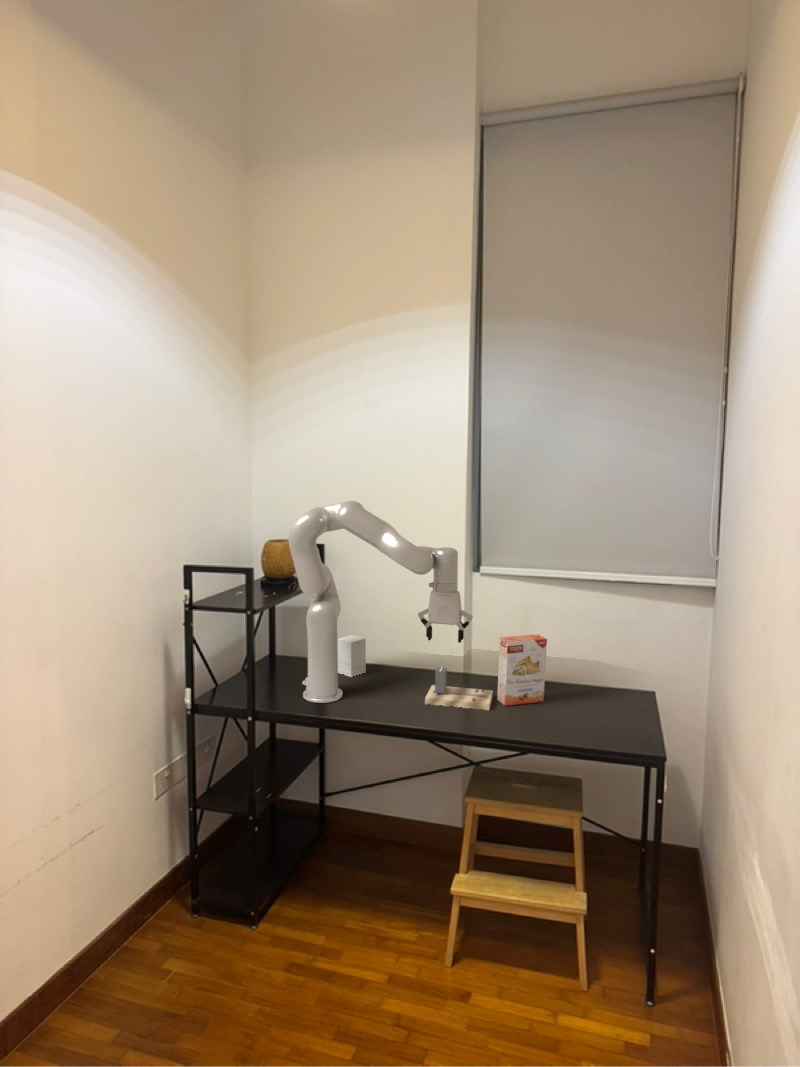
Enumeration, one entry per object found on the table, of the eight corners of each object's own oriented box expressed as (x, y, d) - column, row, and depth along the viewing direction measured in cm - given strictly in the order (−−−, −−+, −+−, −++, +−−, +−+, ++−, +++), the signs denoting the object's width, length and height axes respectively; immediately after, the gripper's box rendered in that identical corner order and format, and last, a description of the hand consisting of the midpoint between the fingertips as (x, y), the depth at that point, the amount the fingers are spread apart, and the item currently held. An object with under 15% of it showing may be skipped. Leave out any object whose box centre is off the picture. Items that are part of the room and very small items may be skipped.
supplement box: (366, 673, 244) (366, 638, 242) (350, 678, 239) (350, 642, 237) (352, 668, 249) (352, 634, 247) (336, 672, 244) (336, 638, 242)
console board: (424, 704, 215) (425, 697, 215) (431, 690, 227) (431, 684, 227) (489, 710, 211) (489, 703, 211) (492, 696, 223) (492, 689, 222)
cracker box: (505, 707, 214) (507, 641, 211) (496, 700, 219) (498, 636, 217) (545, 702, 218) (547, 638, 215) (535, 695, 224) (537, 633, 221)
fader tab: (435, 692, 218) (435, 670, 217) (437, 687, 222) (437, 666, 221) (444, 693, 217) (444, 671, 216) (446, 688, 222) (447, 667, 221)
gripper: (415, 588, 214) (415, 641, 216) (471, 591, 210) (470, 645, 212) (421, 583, 221) (420, 635, 223) (474, 586, 217) (473, 639, 219)
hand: (444, 640), depth 218 cm, fingers open, 9 cm apart
